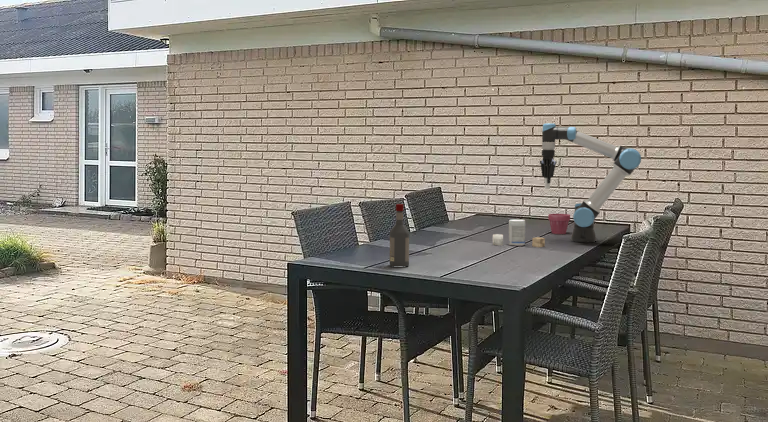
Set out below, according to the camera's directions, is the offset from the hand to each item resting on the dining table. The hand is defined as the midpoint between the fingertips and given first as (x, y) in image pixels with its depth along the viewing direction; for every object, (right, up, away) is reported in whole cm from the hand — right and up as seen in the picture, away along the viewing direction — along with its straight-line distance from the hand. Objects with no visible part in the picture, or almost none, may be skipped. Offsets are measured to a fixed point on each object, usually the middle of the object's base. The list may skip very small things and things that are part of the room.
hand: (547, 188), depth 429 cm
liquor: (-91, -40, -82) cm, 129 cm away
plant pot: (+18, -29, +45) cm, 56 cm away
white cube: (-31, -33, -9) cm, 46 cm away
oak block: (-8, -34, -14) cm, 38 cm away
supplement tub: (-20, -34, -9) cm, 40 cm away
